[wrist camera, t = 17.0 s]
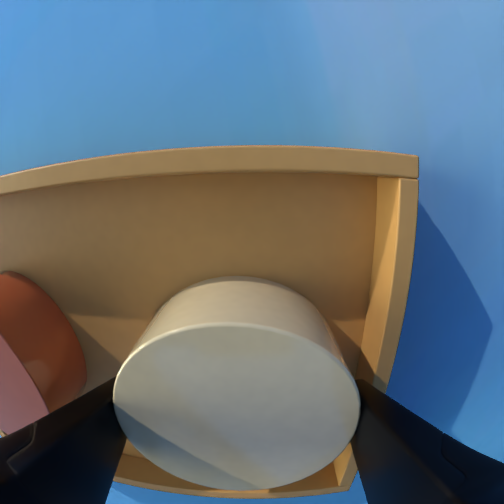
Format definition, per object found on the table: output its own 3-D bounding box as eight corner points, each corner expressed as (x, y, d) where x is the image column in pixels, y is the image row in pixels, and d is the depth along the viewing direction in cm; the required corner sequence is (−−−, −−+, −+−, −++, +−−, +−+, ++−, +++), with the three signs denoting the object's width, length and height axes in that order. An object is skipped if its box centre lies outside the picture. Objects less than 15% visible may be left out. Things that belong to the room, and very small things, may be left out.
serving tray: (340, 458, 12) (348, 491, 10) (19, 419, 12) (3, 439, 10) (386, 158, 8) (420, 155, 6) (-46, 193, 9) (-77, 199, 7)
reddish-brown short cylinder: (105, 415, 10) (78, 464, 7) (6, 386, 10) (-24, 418, 8) (65, 272, 9) (10, 306, 6) (-32, 267, 9) (-77, 289, 6)
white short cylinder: (323, 426, 10) (337, 485, 7) (161, 424, 10) (143, 481, 7) (346, 273, 9) (385, 317, 6) (132, 273, 9) (84, 315, 6)
